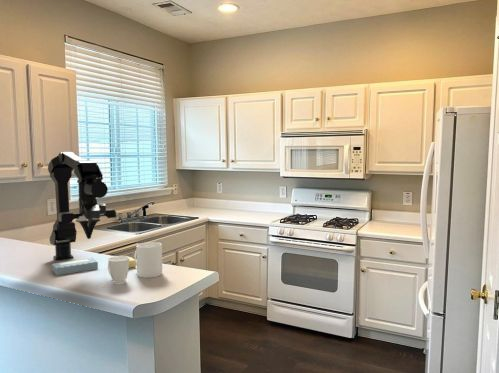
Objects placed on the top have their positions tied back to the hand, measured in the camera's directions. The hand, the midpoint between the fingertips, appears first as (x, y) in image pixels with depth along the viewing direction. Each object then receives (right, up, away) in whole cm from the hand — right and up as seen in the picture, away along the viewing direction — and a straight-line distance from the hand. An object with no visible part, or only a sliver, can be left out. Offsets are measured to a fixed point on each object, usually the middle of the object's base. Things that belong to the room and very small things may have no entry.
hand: (88, 238), depth 141 cm
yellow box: (+11, -11, +5) cm, 16 cm away
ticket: (-6, -12, +2) cm, 13 cm away
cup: (+14, -13, -12) cm, 23 cm away
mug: (+22, -12, -4) cm, 25 cm away
